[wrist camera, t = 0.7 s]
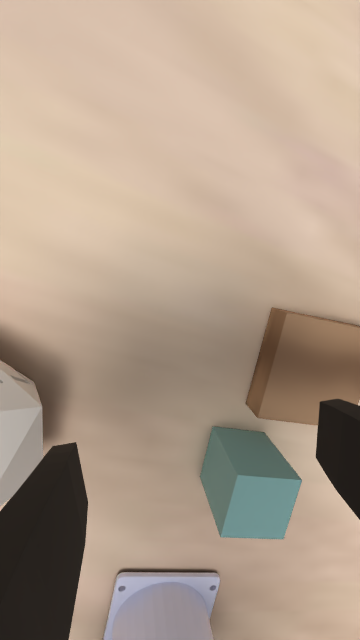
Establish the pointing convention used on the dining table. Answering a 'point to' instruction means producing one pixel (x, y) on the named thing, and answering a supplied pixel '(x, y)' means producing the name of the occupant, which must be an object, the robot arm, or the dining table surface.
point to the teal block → (248, 484)
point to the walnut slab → (304, 367)
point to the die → (18, 430)
